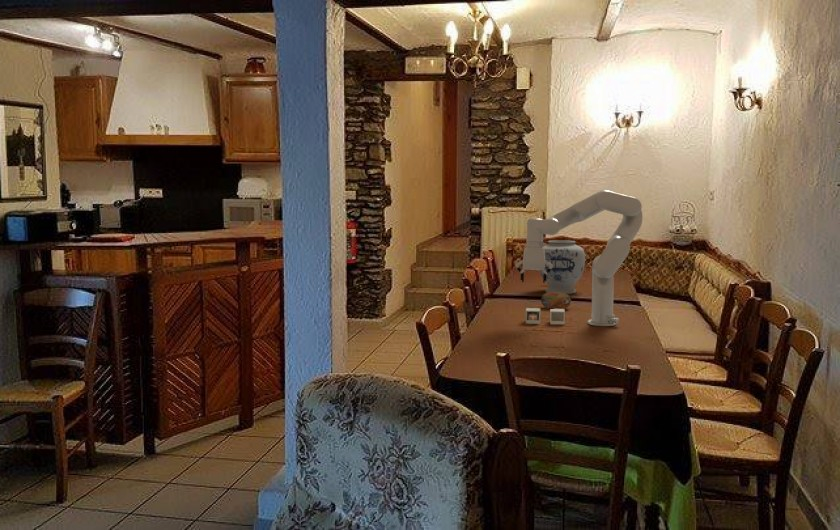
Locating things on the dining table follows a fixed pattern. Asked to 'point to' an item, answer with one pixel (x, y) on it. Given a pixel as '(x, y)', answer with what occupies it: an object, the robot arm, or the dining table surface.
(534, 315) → the letter block
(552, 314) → the cream cube
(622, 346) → the dining table surface
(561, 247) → the apothecary jar
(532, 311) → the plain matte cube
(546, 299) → the tin
